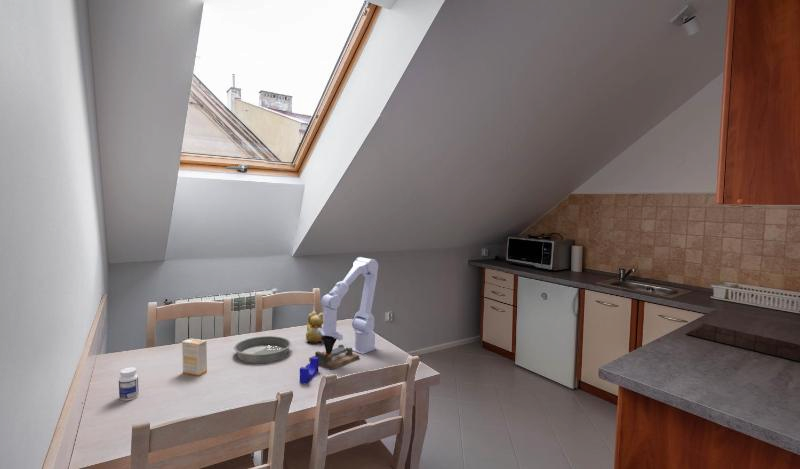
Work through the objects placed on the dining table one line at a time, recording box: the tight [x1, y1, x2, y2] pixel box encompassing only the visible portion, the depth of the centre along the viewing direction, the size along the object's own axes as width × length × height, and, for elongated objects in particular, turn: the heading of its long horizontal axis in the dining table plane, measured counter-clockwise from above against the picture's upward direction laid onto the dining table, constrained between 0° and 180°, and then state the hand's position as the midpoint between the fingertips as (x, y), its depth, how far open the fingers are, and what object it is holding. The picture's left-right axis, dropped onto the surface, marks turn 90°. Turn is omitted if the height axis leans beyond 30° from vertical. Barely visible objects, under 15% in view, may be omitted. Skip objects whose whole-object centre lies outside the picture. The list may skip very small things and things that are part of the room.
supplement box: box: [181, 337, 208, 377], centre depth 169 cm, size 8×5×13 cm, turn 71°
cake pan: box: [233, 335, 292, 364], centre depth 192 cm, size 25×25×4 cm
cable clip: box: [299, 356, 320, 385], centre depth 169 cm, size 12×4×6 cm, turn 170°
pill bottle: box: [118, 366, 140, 402], centre depth 147 cm, size 6×6×10 cm
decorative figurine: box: [305, 310, 324, 344], centre depth 209 cm, size 10×8×15 cm
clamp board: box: [308, 344, 360, 370], centre depth 187 cm, size 17×14×5 cm
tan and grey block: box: [320, 345, 349, 358], centre depth 187 cm, size 14×4×1 cm, turn 142°
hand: (328, 352), depth 184 cm, fingers closed, pressing on tan and grey block
